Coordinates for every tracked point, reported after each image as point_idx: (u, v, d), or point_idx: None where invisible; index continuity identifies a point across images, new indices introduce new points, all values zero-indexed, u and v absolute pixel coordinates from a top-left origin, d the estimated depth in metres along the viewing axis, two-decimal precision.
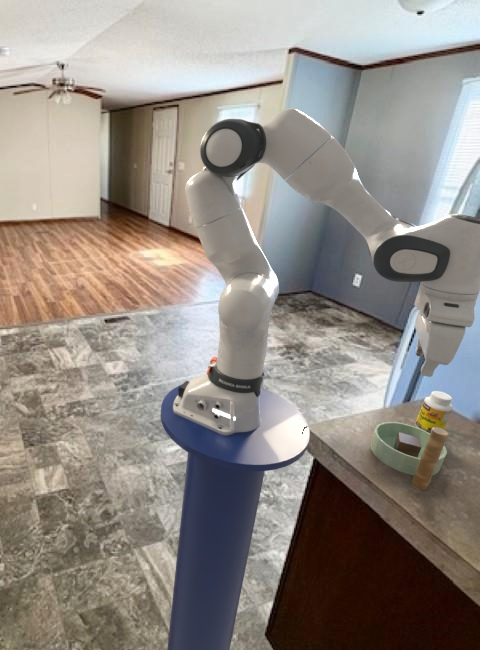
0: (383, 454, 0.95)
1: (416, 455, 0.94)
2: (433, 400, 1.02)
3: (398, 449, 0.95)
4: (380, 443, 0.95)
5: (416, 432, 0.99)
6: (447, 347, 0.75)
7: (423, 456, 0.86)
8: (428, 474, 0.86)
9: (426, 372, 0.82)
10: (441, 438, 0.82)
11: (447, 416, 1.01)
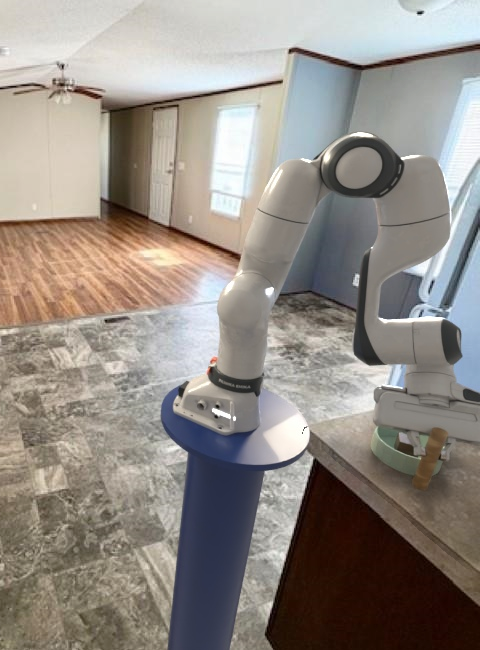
0: (383, 454, 0.95)
1: None
2: None
3: (398, 449, 0.95)
4: (380, 443, 0.95)
5: None
6: None
7: None
8: (428, 474, 0.86)
9: None
10: (441, 438, 0.82)
11: None
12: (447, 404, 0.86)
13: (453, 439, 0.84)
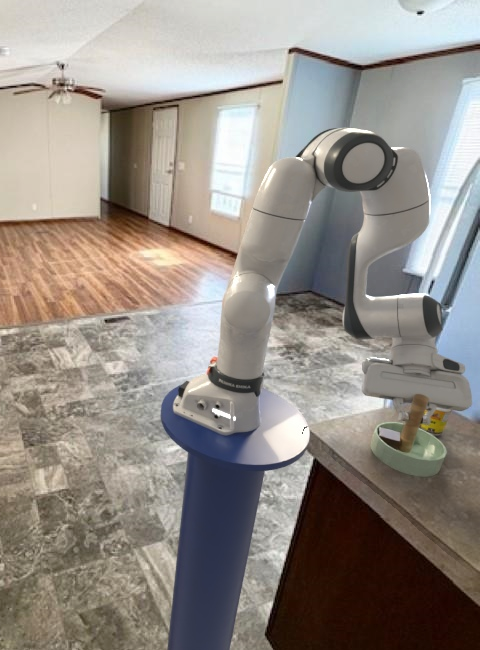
0: (383, 454, 0.95)
1: (395, 449, 0.96)
2: None
3: None
4: (380, 443, 0.95)
5: None
6: None
7: (407, 421, 0.94)
8: (411, 437, 0.94)
9: None
10: (422, 403, 0.90)
11: (447, 416, 1.01)
12: (429, 373, 0.94)
13: (434, 405, 0.92)
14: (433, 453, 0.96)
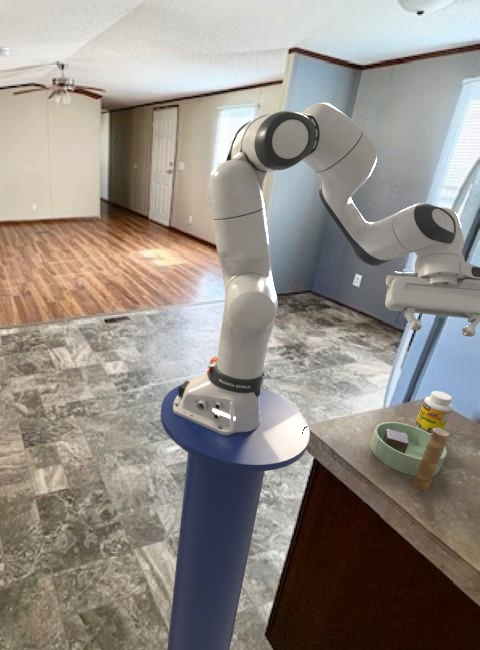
0: (383, 454, 0.95)
1: (403, 451, 0.95)
2: (433, 400, 1.02)
3: None
4: (380, 443, 0.95)
5: (416, 432, 0.99)
6: None
7: (424, 457, 0.85)
8: (429, 475, 0.86)
9: None
10: (442, 439, 0.82)
11: (447, 416, 1.01)
12: (456, 282, 0.90)
13: (478, 315, 0.88)
14: None
